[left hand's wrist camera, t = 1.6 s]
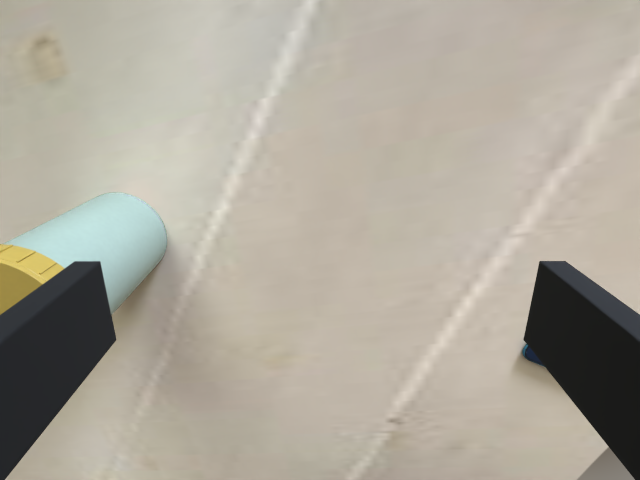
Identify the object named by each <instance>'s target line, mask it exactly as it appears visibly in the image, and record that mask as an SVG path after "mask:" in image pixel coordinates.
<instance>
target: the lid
mask: <svg viewBox="0 0 640 480" xmlns="http://www.w3.org/2000/svg"><path fill="white" fill-rule="evenodd" d="M63 269H65V268H63V267H62V266H61V265H60V264H58V263H57V262H55V261H53V260H52V259H50V258H48V257H46V256H45V255H43V254H41V253H38V252H36V251H33V250H30V249H27V248H23V247H20V246H14V245H5V244H0V315H1V314H2V313H4V312H5V311H6V310H8V309H9V308H10V307H12V306H13V305H15V304H16V303H17V302H19V301H20V300H22V299H23V298H24V297H26V296H27V295H29V294H30V293H31V292H33V291H34V290H35V289H37V288H38V287H40V286H41V285H42V284H44V283H45V282H47V281H48V280H49V279H51V278H52V277H54V276H55V275H56V274H58V273H59V272H60V271H62V270H63Z"/></svg>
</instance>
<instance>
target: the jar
mask: <svg viewBox="0 0 640 480" xmlns="http://www.w3.org/2000/svg"><path fill="white" fill-rule="evenodd" d="M4 244H5V245H14V246H20V247H23V248H27V249H30V250H33V251H36V252H38V253H41V254H43V255H45V256H46V257H48V258H50V259H52V260H53V261H55V262H57V263H58V264H60V265H61V266H62V267H63V268H66V267H67V266H69V265H70V264H72V263H73V262H74V261H100V262H101V267H102V272H103V277H104V282H105V287H106V292H107V297H108V301H109V306H110V311H111V315H112V314H113V313H114V312H115V311H116V310H117V309H118V307H119V306H120V305H121V304H122V303H123V302H124V301H125V300H126V299H127V297H128V296H129V295H130V294H131V293H132V292H133V291H134V290H135V289H136V288H137V286H138V285H139V284H140V283H141V282H142V281H143V280H144V279H145V278H146V276H147V275H148V274H149V273H150V272H151V271H152V270H153V269H154V268H155V266H156V265H157V264H158V263H159V262H160V261H161V259H162V258H163V256H164V253H165V251H166V246H167V235H166V230H165V227H164V224H163V222H162V220H161V218H160V217H159V215H158V214H157V213H156V212H155V210H154V209H153V208H152V207H150V206H149V205H148V204H147V203H145V202H144V201H142V200H141V199H139V198H137V197H134V196H132V195H128V194H124V193H107V194H103V195H100V196H97V197H95V198H93V199H91V200H89V201H87V202H85V203H84V204H82V205H80V206H78V207H76V208H74V209H72V210H70V211H68V212H66V213H64V214H62V215H60V216H58V217H56V218H54V219H52V220H50V221H48V222H46V223H44V224H42V225H40V226H38V227H36V228H34V229H32V230H30V231H28V232H26V233H24V234H22V235H20V236H18V237H16V238H14V239H12V240H10V241H8V242H6V243H4Z"/></svg>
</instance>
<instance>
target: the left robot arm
mask: <svg viewBox="0 0 640 480" xmlns="http://www.w3.org/2000/svg"><path fill="white" fill-rule="evenodd" d="M115 341H116V336H115V331H114V326H113V321H112V316H111V311H110V306H109V301H108V297H107V292H106V287H105V282H104V277H103V272H102V267H101V262H100V261H74V262H73V263H72V264H70V265H69V266H67V267H66V268H65V269H63V270H62V271H60V272H59V273H58V274H56V275H55V276H54V277H52V278H51V279H49V280H48V281H47V282H45V283H44V284H42V285H41V286H40V287H38V288H37V289H35V290H34V291H33V292H31V293H30V294H29V295H27V296H26V297H24V298H23V299H22V300H20V301H19V302H17V303H16V304H15V305H13V306H12V307H10V308H9V309H8V310H6V311H5V312H4V313H2V314H1V315H0V480H5V479H6V477H7V476H8V475H9V474H10V472H11V471H12V470H13V469H14V467H15V466H16V465H17V464H18V462H19V461H20V460H21V459H22V457H23V456H24V455H25V454H26V452H27V451H28V450H29V449H30V447H31V446H32V445H33V444H34V442H35V441H36V440H37V439H38V437H39V436H40V435H41V434H42V432H43V431H44V430H45V429H46V427H47V426H48V425H49V424H50V422H51V421H52V420H53V419H54V417H55V416H56V415H57V414H58V412H59V411H60V410H61V409H62V407H63V406H64V405H65V404H66V402H67V401H68V400H69V398H70V397H71V396H72V395H73V393H74V392H75V391H76V390H77V388H78V387H79V386H80V385H81V383H82V382H83V381H84V380H85V378H86V377H87V376H88V375H89V373H90V372H91V371H92V370H93V368H94V367H95V366H96V365H97V363H98V362H99V361H100V360H101V358H102V357H103V356H104V355H105V353H106V352H107V351H108V350H109V348H110V347H111V346H112V345H113V343H114V342H115ZM524 341H525V342H526V343H527V345H528V346H529V347H530V348H531V350H532V351H533V352H534V353H535V355H536V356H537V357H538V358H539V360H540V361H541V362H542V363H543V365H544V366H545V367H546V368H547V370H548V371H549V372H550V373H551V375H552V376H553V377H554V378H555V380H556V381H557V382H558V383H559V385H560V386H561V387H562V388H563V390H564V391H565V392H566V393H567V395H568V396H569V397H570V398H571V400H572V401H573V402H574V404H575V405H576V406H577V407H578V409H579V410H580V411H581V412H582V414H583V415H584V416H585V417H586V419H587V420H588V421H589V422H590V424H591V425H592V426H593V427H594V429H595V430H596V431H597V432H598V434H599V435H600V436H601V437H602V439H603V440H604V441H605V442H606V444H607V445H608V446H609V447H610V449H611V450H612V451H613V452H614V454H615V455H616V456H617V457H618V459H619V460H620V461H621V462H622V464H623V465H624V466H625V467H626V469H627V470H628V471H629V472H630V474H631V475H632V476H633V477H634V479H635V480H640V315H639V314H638V313H636V312H635V311H634V310H632V309H631V308H629V307H628V306H627V305H625V304H624V303H623V302H621V301H620V300H618V299H617V298H616V297H614V296H613V295H611V294H610V293H609V292H607V291H606V290H605V289H603V288H602V287H600V286H599V285H598V284H596V283H595V282H593V281H592V280H591V279H589V278H588V277H586V276H585V275H584V274H582V273H581V272H580V271H578V270H577V269H575V268H574V267H573V266H571V265H570V264H568V263H567V262H566V261H540V262H539V267H538V272H537V277H536V282H535V287H534V292H533V297H532V301H531V306H530V311H529V316H528V321H527V326H526V331H525V336H524Z"/></svg>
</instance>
